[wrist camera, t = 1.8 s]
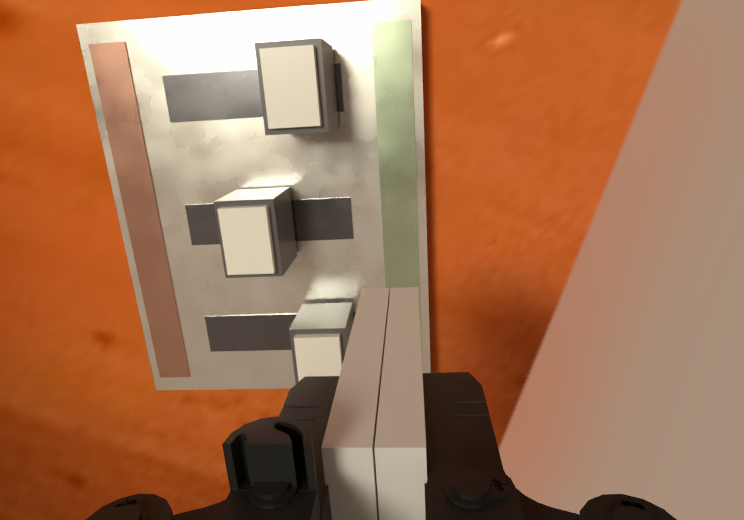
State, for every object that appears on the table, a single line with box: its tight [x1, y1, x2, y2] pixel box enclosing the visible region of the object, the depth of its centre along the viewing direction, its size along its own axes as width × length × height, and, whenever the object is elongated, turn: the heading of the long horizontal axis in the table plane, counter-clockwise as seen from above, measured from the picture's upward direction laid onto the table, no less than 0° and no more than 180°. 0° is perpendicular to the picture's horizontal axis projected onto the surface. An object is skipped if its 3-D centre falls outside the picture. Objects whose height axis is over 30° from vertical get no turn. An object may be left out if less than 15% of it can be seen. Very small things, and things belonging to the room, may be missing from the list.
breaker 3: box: [289, 302, 354, 384], centre depth 28 cm, size 3×4×4 cm
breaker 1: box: [254, 38, 339, 135], centre depth 24 cm, size 3×4×4 cm
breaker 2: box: [214, 187, 297, 278], centre depth 26 cm, size 3×4×4 cm
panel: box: [76, 0, 431, 390], centre depth 29 cm, size 18×22×2 cm
